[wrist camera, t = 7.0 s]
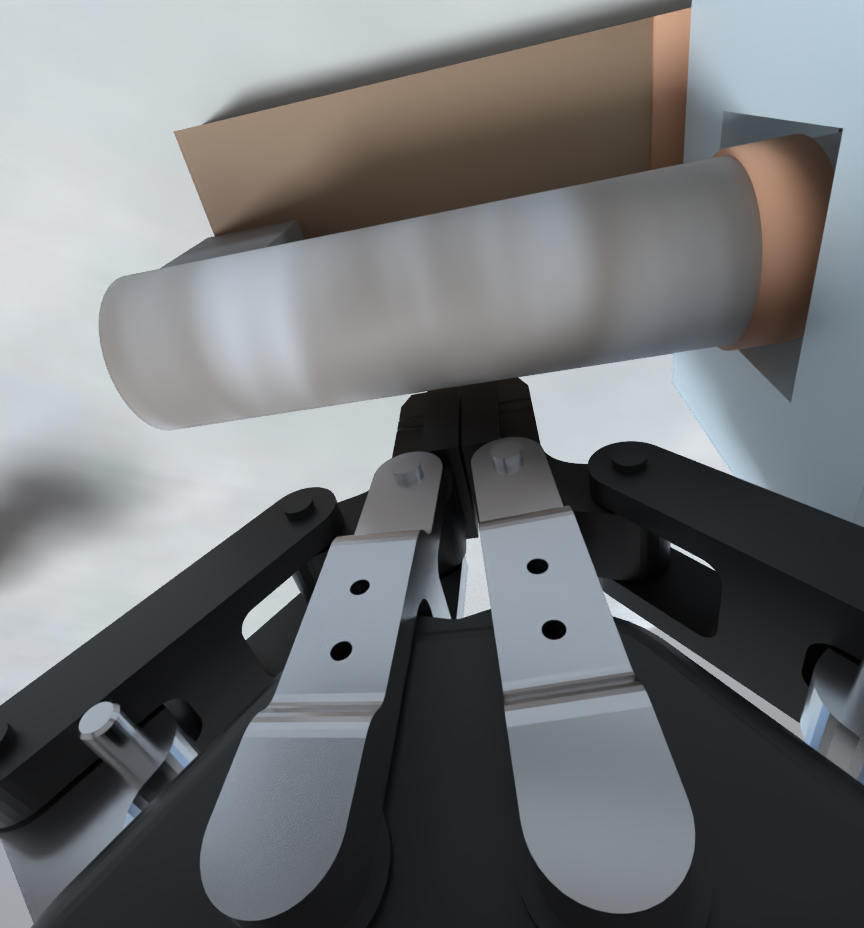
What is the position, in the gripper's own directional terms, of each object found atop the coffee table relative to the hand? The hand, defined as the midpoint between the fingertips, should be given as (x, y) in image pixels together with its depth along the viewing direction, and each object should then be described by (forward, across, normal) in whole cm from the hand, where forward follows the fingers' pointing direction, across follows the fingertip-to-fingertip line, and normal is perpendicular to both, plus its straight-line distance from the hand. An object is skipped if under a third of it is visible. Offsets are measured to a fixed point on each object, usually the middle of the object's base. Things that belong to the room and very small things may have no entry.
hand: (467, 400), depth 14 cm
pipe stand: (+4, -2, -3) cm, 6 cm away
